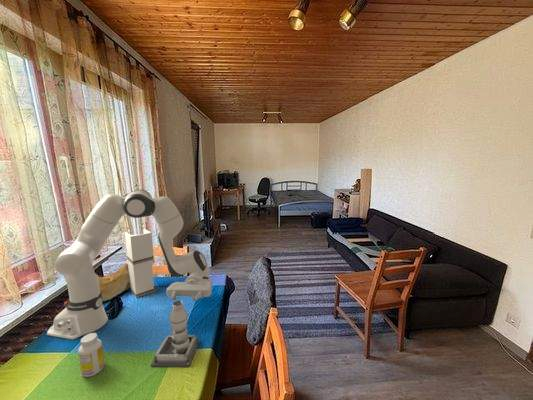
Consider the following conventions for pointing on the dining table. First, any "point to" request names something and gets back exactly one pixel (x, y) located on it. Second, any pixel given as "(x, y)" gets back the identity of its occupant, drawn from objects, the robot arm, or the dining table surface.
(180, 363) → the grey square tray
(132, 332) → the dining table surface
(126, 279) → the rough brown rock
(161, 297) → the dining table surface
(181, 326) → the silver bottle
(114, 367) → the dining table surface
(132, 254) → the beige notched post
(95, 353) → the supplement bottle
